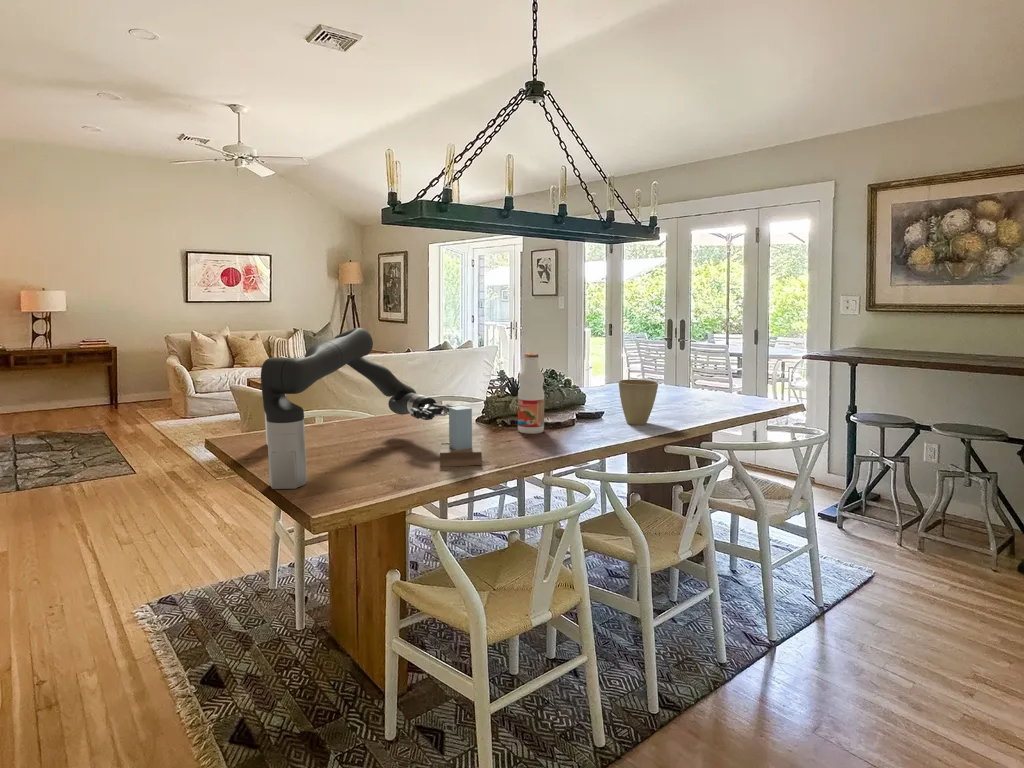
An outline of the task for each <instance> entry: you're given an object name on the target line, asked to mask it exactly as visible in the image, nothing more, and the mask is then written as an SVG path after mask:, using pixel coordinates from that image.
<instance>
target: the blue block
mask: <svg viewBox="0 0 1024 768" xmlns="http://www.w3.org/2000/svg"><path fill="white" fill-rule="evenodd" d="M448 429H449V430H448V431H449V432H448V433H449V434H448V436H449V437H448V440H449V442H448V443H449V447H451V448H453V449H455V450H463V449H470V448H472V443H473V408H472V407H468V406H466V405H460V406H458V405H457V407H449V415H448Z"/></svg>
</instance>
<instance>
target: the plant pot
mask: <svg viewBox="0 0 1024 768" xmlns="http://www.w3.org/2000/svg"><path fill="white" fill-rule="evenodd" d="M658 387H659V382H658V381H655V380H650V379H649V380H647V379H620V380H618V389H619V390H618V391H619V398H620V404H621V407H622V412H623V414H624V418H625V421H626V424H628V425H634V426H643V425H644V426H645V425H647V423H648V420H649V418H650V416H651V413H652V411H653V407H654V405H655V401H656V397H657V392H658Z"/></svg>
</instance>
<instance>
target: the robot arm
mask: <svg viewBox="0 0 1024 768" xmlns="http://www.w3.org/2000/svg"><path fill="white" fill-rule="evenodd" d="M373 347H374V339H373V337H372V335H371V334H370V332H368V330H366V329H365V328H364V327H363V328H361V327H354V328H352V329H350V330H348V331H345V332H342V333H340V334H337V335H336V336H334V337H333V338H331V339H327V340H324V341H321V342H318V343H316V344H314V345H311V346H310V347H309V348H308V349H307V350H306V352H305V353H304V357H269V358H266V359H265V360H264V362H263V363H262V365H261V369H260V385H261V393H262V394H261V395H262V402H263V403H262V407H263V410H264V411H263V412H264V414H265V413H266V419H267V438H268V445H267V452H268V453H267V454H268V474H269V475H268V476H269V486H270V487H271V490H283V489H284V490H287V489H289V490H290V489H291V490H292V489H293V490H294V489H297V488H298V487H299V488H300V487H303V486H305V485H306V484H307V483H308V477H307V472H308V471H307V456H306V455H307V454H306V453H307V452H306V430H305V411H304V409H303V407H302V406H300V405H297V404H295V403H293V402H292V401H290V400H289V399H288V398H287V395H298V394H300V393H301V394H302V393H303V392H304V391H306V390H307V389H309V388H311V386H312V385H313V384H314V383H316V382H317V381H318V380H321V379H323V378H325V377H326V376H329V375H331V374H332V373H334V372H337V371H339V369H342V368H343V367H344V366H346V365H347V366H348V367H350V368H352V369H353V370H355V371H356V372H357V373H359V374H360V375H361V376H363V377H364V378H366V379H368V381H370V382H371V384H373V385H374V386H375V387H376V388H377V389H378V391H380V393H382V394H383V395H384V396H385V397H389V398H390V399H388V403H387V404H388V405H387V406H388V408H389V410H390V411H392V412H393V413H395V414H396V415H400V416H403V415H410V416H411V417H413V418H415V419H418V420H419V419H421V420H423V421H430V420H433V419H434V418H435V417H438V416H439V417H446V416H449V407H457V406H458V405H457V406H456V405H452V404H451V403H450V404H449V403H446V404H439V403H438V402H437V401H436V399H435V398H432V397H430V396H427V395H424V394H419V393H417V391H416V390H415V389H414V388H412V386H410V385H408V384H405V383H403V382H402V381H400V379H398V378H397V376H395V375H394V374H393V373H392V371H391V370H390V369H388V368H387V367H385V366H383V365H381V364H379V363H376V362H373V361H371V360H368V359H366V358H364V357H365V356H368V355H369V354H371V352H372V350H373ZM285 394H286V396H285Z"/></svg>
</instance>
